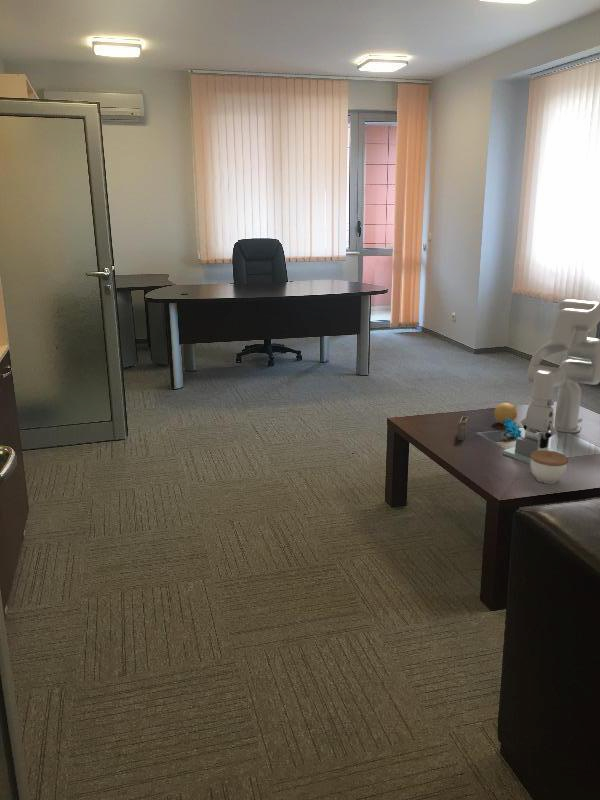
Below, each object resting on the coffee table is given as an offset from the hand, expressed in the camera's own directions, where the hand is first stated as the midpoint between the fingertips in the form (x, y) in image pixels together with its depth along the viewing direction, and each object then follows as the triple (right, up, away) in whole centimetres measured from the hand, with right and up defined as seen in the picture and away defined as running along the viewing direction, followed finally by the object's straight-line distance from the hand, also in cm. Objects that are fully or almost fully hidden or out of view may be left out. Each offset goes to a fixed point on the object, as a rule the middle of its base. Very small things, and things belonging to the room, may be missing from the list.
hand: (536, 444), depth 258 cm
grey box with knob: (0, -2, +1) cm, 2 cm away
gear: (-2, +2, +23) cm, 23 cm away
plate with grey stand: (-1, -4, +1) cm, 4 cm away
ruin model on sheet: (-24, +2, +23) cm, 33 cm away
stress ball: (0, +7, +40) cm, 40 cm away
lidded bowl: (-5, -11, -23) cm, 26 cm away
